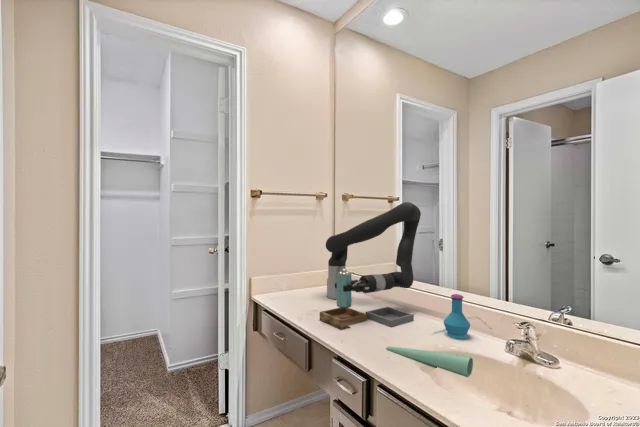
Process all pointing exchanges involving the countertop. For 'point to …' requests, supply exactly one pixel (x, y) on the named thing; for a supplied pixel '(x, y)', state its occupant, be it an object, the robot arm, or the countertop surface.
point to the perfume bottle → (456, 319)
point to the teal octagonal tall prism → (342, 297)
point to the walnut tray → (342, 317)
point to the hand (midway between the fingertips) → (339, 287)
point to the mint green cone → (439, 359)
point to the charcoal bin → (390, 316)
